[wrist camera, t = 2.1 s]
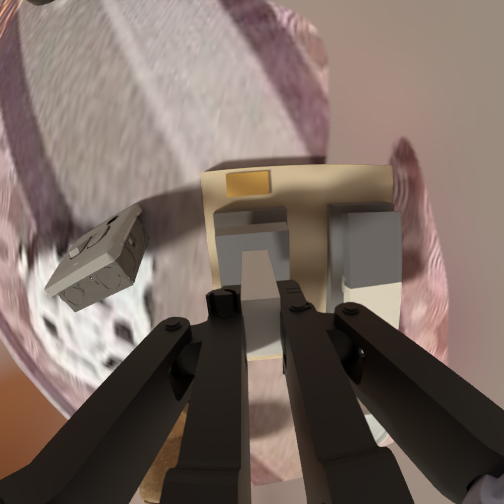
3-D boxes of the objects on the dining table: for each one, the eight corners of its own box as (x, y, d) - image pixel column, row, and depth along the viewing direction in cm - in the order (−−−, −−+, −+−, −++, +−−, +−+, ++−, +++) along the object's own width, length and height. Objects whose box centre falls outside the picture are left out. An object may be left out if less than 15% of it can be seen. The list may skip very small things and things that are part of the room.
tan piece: (188, 455, 38) (179, 522, 24) (131, 425, 36) (107, 495, 21) (242, 424, 35) (243, 509, 21) (175, 388, 33) (152, 481, 18)
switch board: (203, 172, 25) (196, 172, 21) (382, 165, 25) (402, 166, 21) (225, 351, 31) (224, 372, 27) (372, 333, 31) (384, 351, 27)
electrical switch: (140, 200, 25) (99, 228, 17) (164, 244, 27) (136, 289, 19) (77, 239, 26) (31, 275, 18) (100, 276, 28) (62, 323, 20)
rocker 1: (217, 223, 20) (214, 236, 18) (284, 218, 20) (289, 230, 18) (233, 339, 26) (233, 357, 24) (285, 335, 26) (288, 353, 24)
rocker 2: (338, 213, 23) (347, 213, 20) (387, 211, 23) (400, 211, 20) (339, 343, 24) (347, 354, 22) (385, 334, 24) (396, 344, 22)
